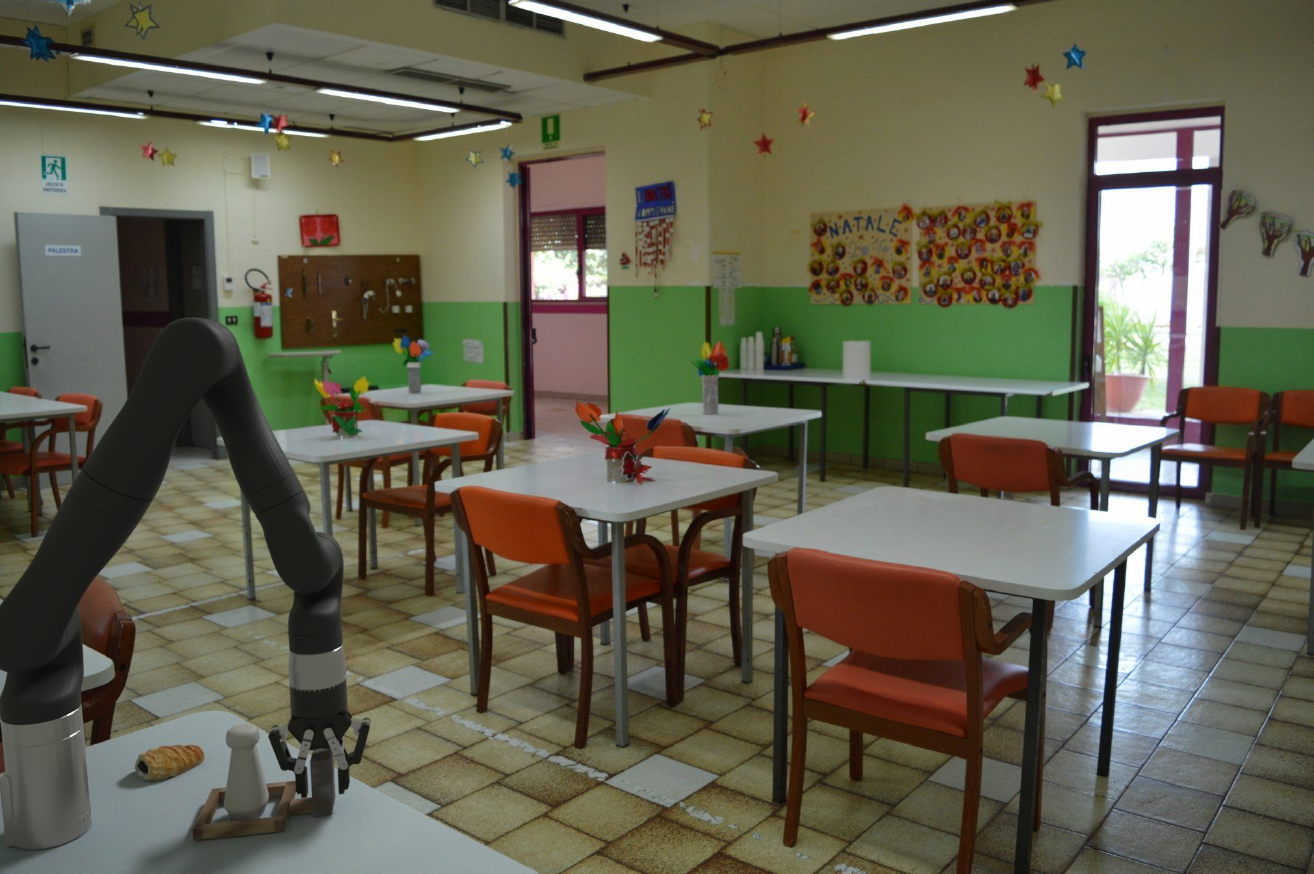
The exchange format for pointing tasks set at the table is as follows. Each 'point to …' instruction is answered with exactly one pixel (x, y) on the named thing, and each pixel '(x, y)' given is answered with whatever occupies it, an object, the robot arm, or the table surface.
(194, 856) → the table surface
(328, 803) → the frame
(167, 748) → the pastry
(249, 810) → the salt shaker
